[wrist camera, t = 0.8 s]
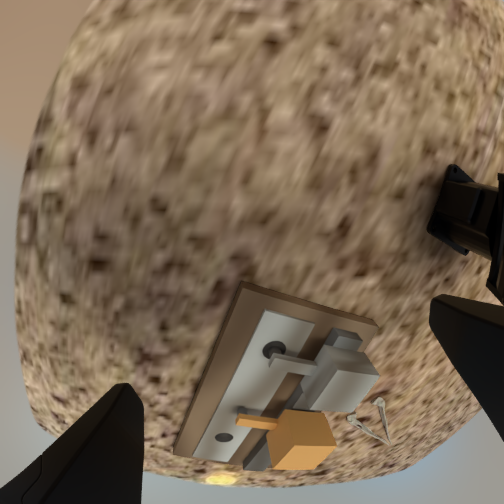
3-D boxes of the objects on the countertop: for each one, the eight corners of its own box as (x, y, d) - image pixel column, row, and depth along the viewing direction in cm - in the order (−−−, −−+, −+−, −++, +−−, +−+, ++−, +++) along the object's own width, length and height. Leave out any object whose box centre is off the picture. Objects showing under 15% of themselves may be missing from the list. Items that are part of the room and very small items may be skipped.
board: (372, 319, 23) (403, 355, 18) (270, 460, 28) (278, 495, 23) (241, 280, 20) (249, 320, 15) (173, 446, 26) (170, 484, 21)
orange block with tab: (321, 406, 23) (337, 446, 18) (301, 431, 24) (313, 469, 20) (244, 395, 22) (250, 441, 17) (229, 422, 23) (232, 465, 18)
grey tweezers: (342, 413, 27) (348, 425, 26) (378, 390, 27) (386, 402, 25) (376, 449, 34) (381, 458, 32) (402, 433, 34) (407, 442, 32)
